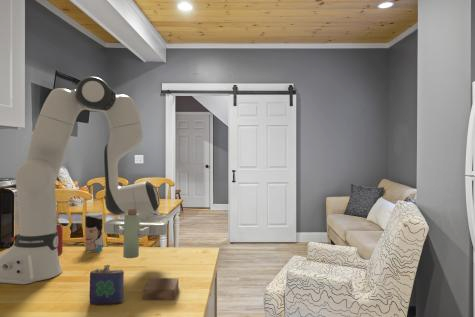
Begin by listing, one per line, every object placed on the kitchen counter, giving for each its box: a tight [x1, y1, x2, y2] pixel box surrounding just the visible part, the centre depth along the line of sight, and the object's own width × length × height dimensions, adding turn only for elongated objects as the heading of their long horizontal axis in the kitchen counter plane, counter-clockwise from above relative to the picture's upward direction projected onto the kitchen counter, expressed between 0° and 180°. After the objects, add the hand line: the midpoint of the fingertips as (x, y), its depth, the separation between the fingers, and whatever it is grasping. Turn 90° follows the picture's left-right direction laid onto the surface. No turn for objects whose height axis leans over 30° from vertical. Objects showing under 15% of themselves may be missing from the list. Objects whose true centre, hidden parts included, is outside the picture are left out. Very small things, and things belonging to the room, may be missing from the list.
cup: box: [84, 212, 104, 252], centre depth 155 cm, size 7×7×15 cm
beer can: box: [56, 222, 63, 255], centre depth 149 cm, size 7×7×12 cm
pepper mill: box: [122, 208, 140, 259], centre depth 116 cm, size 5×5×15 cm
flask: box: [89, 264, 125, 306], centre depth 103 cm, size 9×3×11 cm, turn 95°
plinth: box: [142, 277, 180, 301], centre depth 111 cm, size 9×9×3 cm
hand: (130, 232), depth 115 cm, fingers closed on pepper mill, 5 cm apart
